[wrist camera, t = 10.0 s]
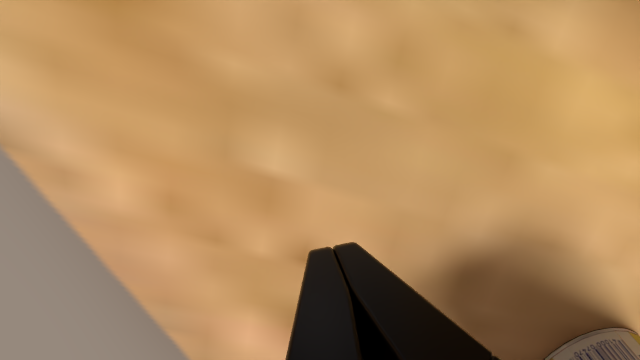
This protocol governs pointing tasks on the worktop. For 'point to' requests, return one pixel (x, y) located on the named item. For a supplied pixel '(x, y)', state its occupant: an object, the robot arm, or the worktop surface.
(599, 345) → the canned food
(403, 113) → the worktop surface
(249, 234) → the worktop surface
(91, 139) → the worktop surface
